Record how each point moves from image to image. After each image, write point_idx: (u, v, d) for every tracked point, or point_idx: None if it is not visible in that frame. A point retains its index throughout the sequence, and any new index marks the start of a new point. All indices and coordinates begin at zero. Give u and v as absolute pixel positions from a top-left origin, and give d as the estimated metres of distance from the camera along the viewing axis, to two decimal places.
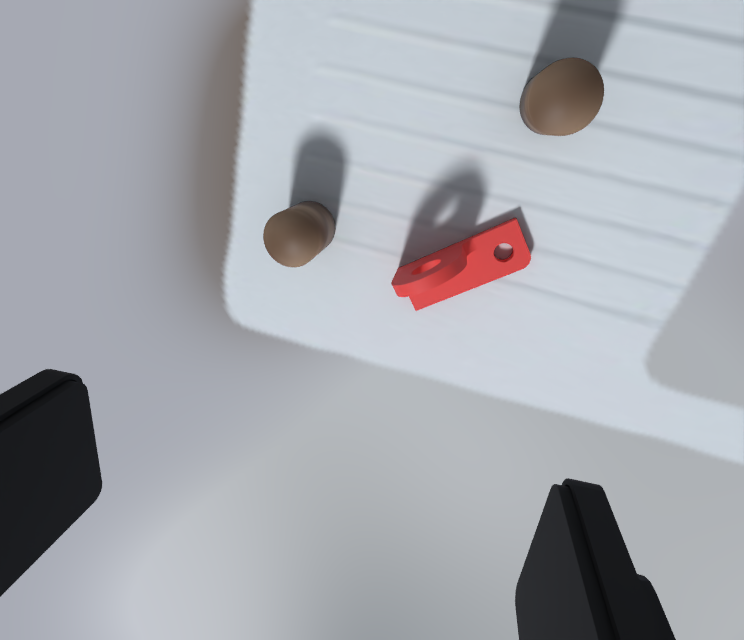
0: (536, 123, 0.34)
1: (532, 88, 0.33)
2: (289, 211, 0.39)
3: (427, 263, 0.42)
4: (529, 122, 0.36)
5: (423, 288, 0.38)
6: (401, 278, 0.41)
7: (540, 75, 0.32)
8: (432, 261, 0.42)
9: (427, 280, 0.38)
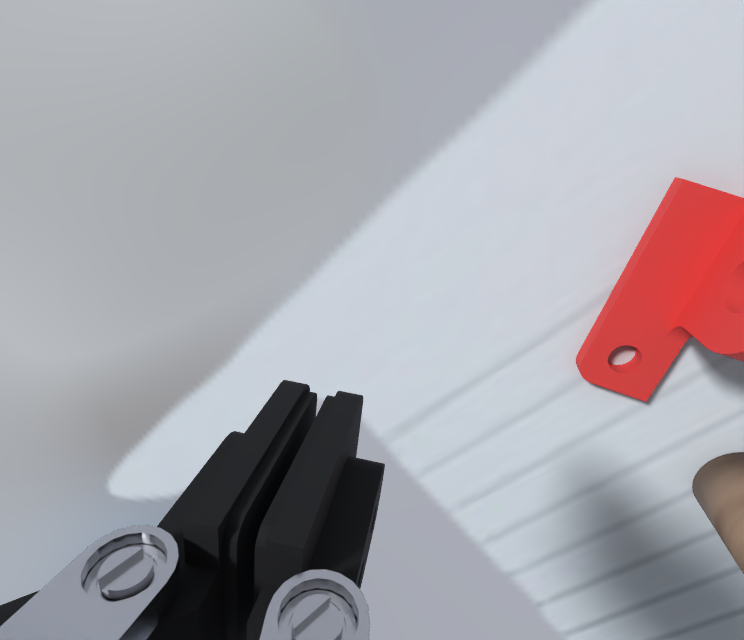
0: None
1: None
2: None
3: None
4: None
5: None
6: None
7: None
8: None
9: None
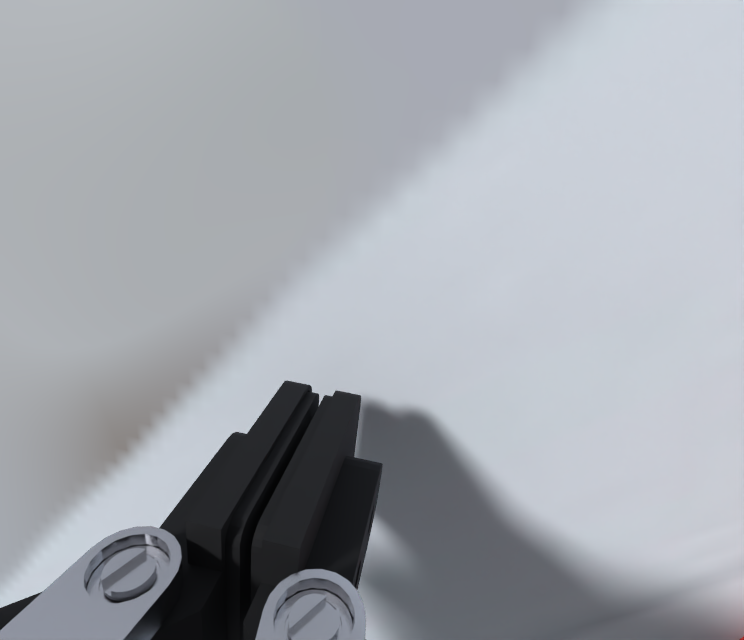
0: None
1: None
2: None
3: None
4: None
5: None
6: None
7: None
8: None
9: None
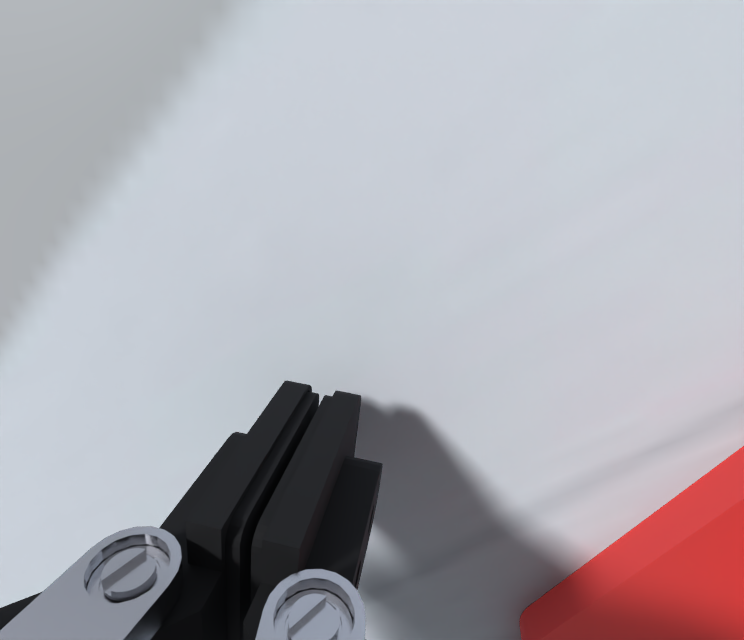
0: None
1: None
2: None
3: None
4: None
5: None
6: None
7: None
8: None
9: None
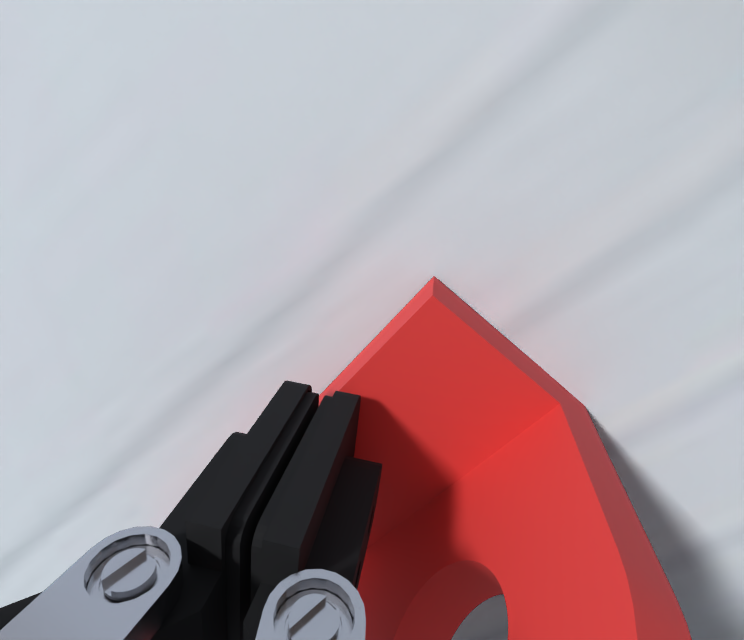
0: None
1: None
2: None
3: (482, 596, 0.09)
4: None
5: None
6: None
7: None
8: (464, 612, 0.09)
9: None
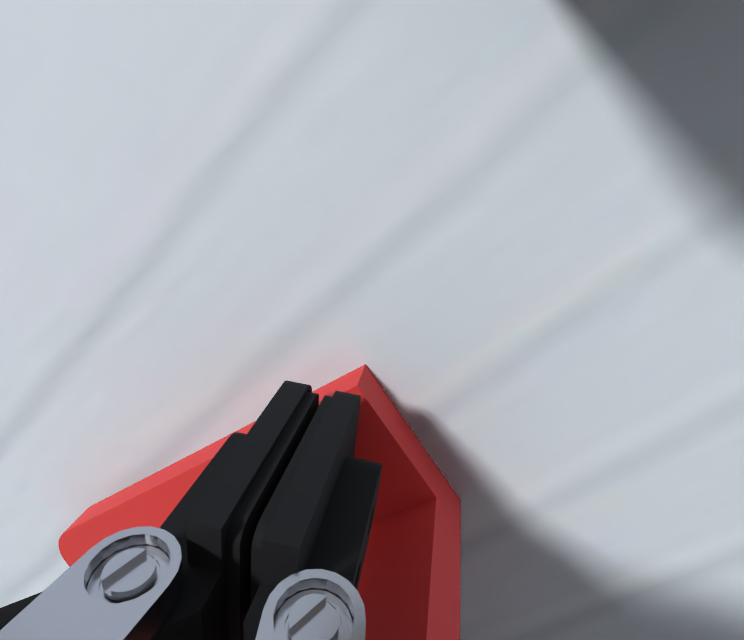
0: None
1: None
2: None
3: None
4: None
5: None
6: None
7: None
8: None
9: None
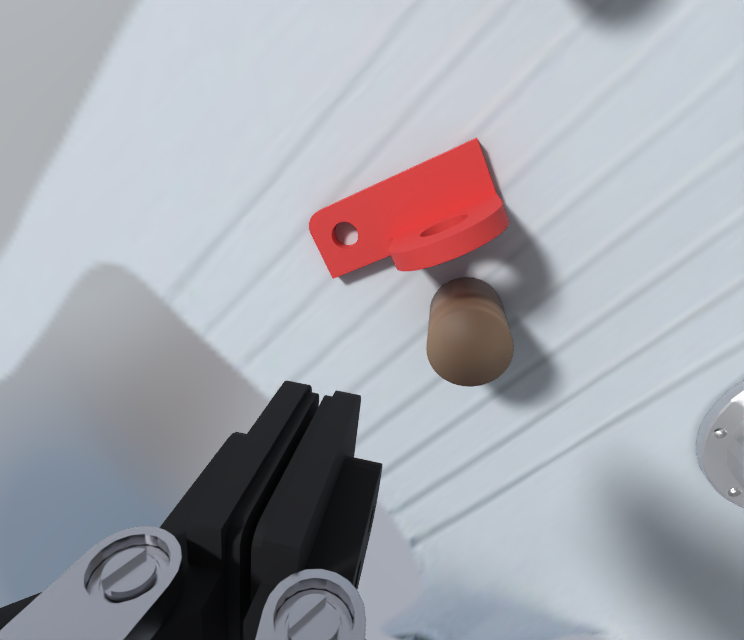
0: (464, 311, 0.26)
1: (503, 325, 0.26)
2: None
3: None
4: (466, 294, 0.28)
5: (451, 242, 0.23)
6: None
7: (510, 338, 0.26)
8: None
9: (444, 255, 0.23)
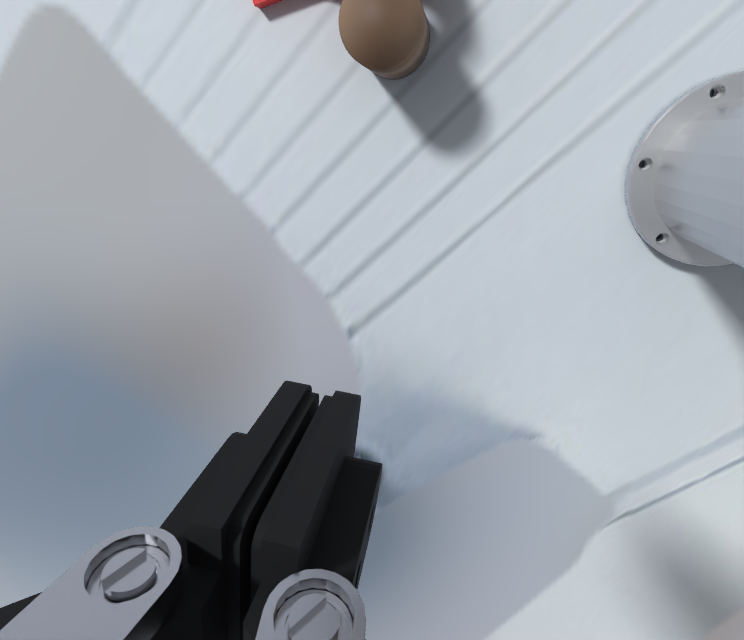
0: None
1: None
2: None
3: None
4: None
5: None
6: None
7: (419, 3, 0.26)
8: None
9: None
